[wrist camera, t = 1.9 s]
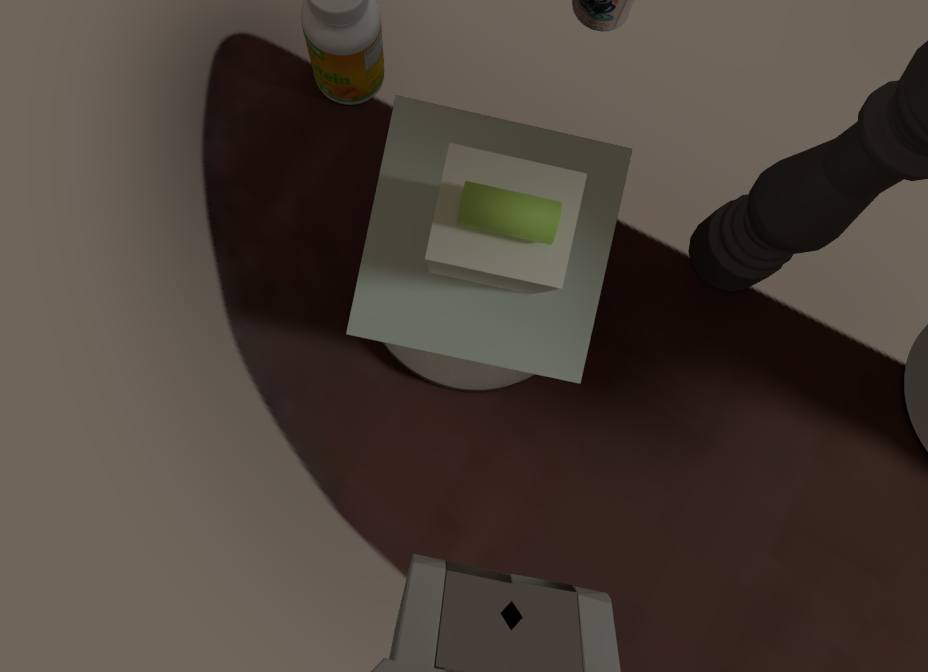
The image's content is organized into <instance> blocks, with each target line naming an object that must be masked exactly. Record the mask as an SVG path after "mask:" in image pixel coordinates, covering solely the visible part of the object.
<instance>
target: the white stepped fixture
mask: <svg viewBox="0 0 928 672" xmlns="http://www.w3.org/2000/svg"><path fill="white" fill-rule="evenodd" d="M631 153H632V149H631V148H626V147H622V146H617V145H613V144H608V143H604V142H599V141H595V140H591V139H586V138H582V137H577V136H573V135H569V134H564V133H560V132H556V131H551V130H547V129H543V128H538V127H534V126H529V125H525V124H520V123H516V122H511V121H507V120H503V119H499V118H494V117H490V116H485V115H481V114H476V113H472V112H468V111H463V110H459V109H455V108H450V107H446V106H441V105H437V104H432V103H428V102H424V101H419V100H415V99H410V98H406V97H402V96H397V95H396V98H395V102H394V107H393V111H392V116H391V121H390V126H389V131H388V136H387V140H386V145H385V150H384V155H383V160H382V164H381V169H380V174H379V179H378V184H377V188H376V193H375V198H374V203H373V208H372V212H371V217H370V222H369V227H368V232H367V236H366V241H365V246H364V251H363V256H362V260H361V265H360V270H359V275H358V280H357V284H356V289H355V294H354V299H353V304H352V308H351V313H350V318H349V323H348V328H347V332H346V334H348V335H352V336H357V337H362V338H367V339H371V340H376V341H381V342H386V343H390V344H395V345H400V346H404V347H409V348H414V349H419V350H423V351H428V352H433V353H437V354H442V355H447V356H452V357H456V358H461V359H466V360H471V361H475V362H480V363H485V364H489V365H494V366H499V367H504V368H508V369H513V370H518V371H523V372H527V373H532V374H537V375H541V376H546V377H551V378H556V379H560V380H565V381H570V382H575V383H579V384H580V383H581V379H582V374H583V370H584V365H585V361H586V356H587V352H588V347H589V343H590V338H591V334H592V329H593V325H594V320H595V316H596V311H597V307H598V302H599V298H600V293H601V289H602V284H603V279H604V275H605V270H606V266H607V261H608V257H609V252H610V248H611V243H612V239H613V234H614V230H615V225H616V221H617V216H618V212H619V207H620V203H621V198H622V193H623V189H624V184H625V180H626V175H627V171H628V166H629V162H630V157H631Z"/></svg>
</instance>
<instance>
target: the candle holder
mask: <svg viewBox="0 0 928 672" xmlns="http://www.w3.org/2000/svg"><path fill="white" fill-rule="evenodd" d="M903 179H906V180H910V181H915V180H922V179H928V41H927V42H926V43H924V44H923V45H922V46H921V47H920V48H918V49H917V51H916V52H915V54H914V56H913V57H912V59H911V61H910V62H909V64H908V66H907V68H906V70H905V71H904V73H903V75H902V76H901V78H900V80H899V81H891V82H888V83H886V84H885V85H883V86H881V87H880V88H878V89H877V90H875V91H874V92H872V93H871V94H870V95H869V96H868V98H867V100H866V101H865V103H864V105H863V106H862V108H861V110H860V111H859V114H858V121H857V122H856V123H855V124H854V125H852V126H851V127H850V128H848V129H847V130H846V131H844V132H843V133H842V134H841V135H839V136H838V137H837V138H835V139H833V140H830V141H828V142H825V143H823V144H821V145H818V146H816V147H813V148H810V149H808V150H806V151H803V152H801V153H798V154H795V155H793V156H790V157H788V158H785V159H783V160H780V161H779V162H777V163H775V164H774V165H772V166H771V167H769V168H767V169H766V170H765V171H763V172H762V173H761V174H760V176H759V177H758V179H757V180H756V182H755V184H754V185H753V187H752V189H751V190H750V192H749V194H748V195H742V196H741V197H739V198H738V199H736V200H733V201H730V202H728V203H726V204H725V205H723V206H722V207H720V208H719V209H717V210H716V211H715V212H714V213H713V214H711V215H710V216H709V217H708V218H706V219H705V220H704V221H703V222H702V223H700V224H699V225H698V226H697V228H696V230H695V231H694V233H693V234H692V236H691V238H690V245H689V255H690V259H691V263H692V267H693V268H694V269H695V271H696V272H697V274H698V275H699V276H700V278H701V279H702V280H703V281H705V282H706V283H708V284H709V285H711V286H712V287H714V288H716V289H720V290H724V291H729V292H732V291H738V290H744V289H746V288H748V287H750V286H752V285H754V284H756V283H758V282H760V281H762V280H763V279H765V278H767V277H769V276H770V275H772V274H773V273H775V272H776V271H778V270H779V269H781V267H782V265H783V264H784V263H786V262H787V261H789V260H790V259H791V257H792V256H793V254H795V253H803V252H809V251H816V250H819V249H821V248H823V247H825V246H826V245H827V244H829V243H830V242H832V241H833V240H835V239H836V238H838V237H839V236H840V235H841V234H842V233H843V232H844V231H845V229H846V228H847V227H848V226H849V225H850V224H851V223H852V222H853V221H854V220H855V219H856V218H857V217H858V215H859V214H860V213H861V212H862V211H863V210H864V209H865V208H866V207H867V206H868V205H869V204H870V203H871V202H872V201H873V200H874V199H875V198H876V197H877V196H878V194H880V193H881V192H883V191H885V190H886V189H888V188H889V187H891V186H893V185H894V184H897V183H898V182H900V181H902V180H903Z"/></svg>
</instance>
